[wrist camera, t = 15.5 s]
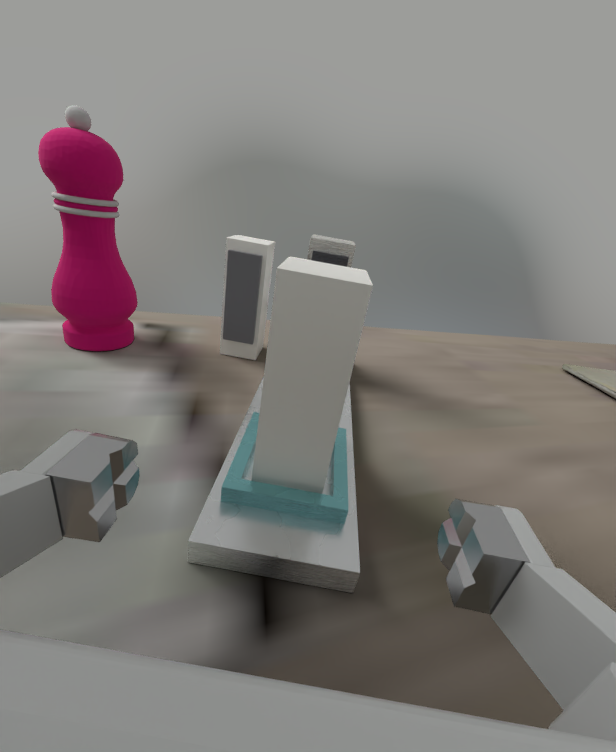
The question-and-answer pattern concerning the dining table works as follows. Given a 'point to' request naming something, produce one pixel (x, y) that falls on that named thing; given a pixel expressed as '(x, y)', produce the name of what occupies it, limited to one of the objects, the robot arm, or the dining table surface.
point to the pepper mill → (88, 237)
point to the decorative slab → (595, 377)
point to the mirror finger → (245, 295)
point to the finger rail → (285, 501)
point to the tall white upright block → (308, 370)
